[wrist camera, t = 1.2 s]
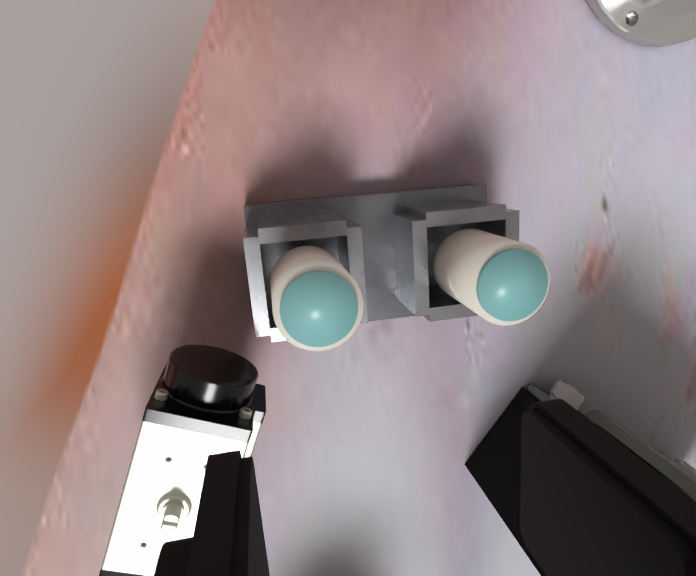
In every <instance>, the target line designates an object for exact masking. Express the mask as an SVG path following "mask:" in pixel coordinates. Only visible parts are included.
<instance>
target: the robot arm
mask: <svg viewBox="0 0 696 576" xmlns="http://www.w3.org/2000/svg"><path fill="white" fill-rule="evenodd" d="M587 2H588V5H589V6H590V7H591V9H592V10H593V12H594V13H595V15H596V16H597V18H598V19H599V20H600V21H601V22H602V23H603V24H604V25H605V26H606V27H607V28H608V29H609V30H610V31H611V32H612V33H614V34H616V35H617V36H619V37H621V38H622V39H624V40H626V41H628V42H631V43H634V44H637V45H641V46H650V47H662V46H668V45H674V44H677V43H681V42H684V41H687V40H690V39H693V38H695V37H696V0H587ZM520 530H521V535H522V538H523V541H524V543H525V545H526V547H527V548H528V550H529V551H530V553H531V554H532V555H533V557H534V558H535V560H536V561H537V563H538V564H539V565H540V567H541V568H542V570H543V571H544V573H545V574H546V575H547V576H696V501H694V500H693V499H692V498H690V497H689V496H688V495H687V494H685V493H684V492H683V491H681V490H680V489H679V488H677V487H676V486H675V485H674V484H672V483H671V482H670V481H668V480H667V479H666V478H664V477H663V476H662V475H661V474H659V473H658V472H657V471H655V470H654V469H653V468H651V467H650V466H649V465H648V464H646V463H645V462H644V461H642V460H641V459H640V458H638V457H637V456H636V455H635V454H633V453H632V452H631V451H629V450H628V449H627V448H626V447H624V446H623V445H622V444H620V443H619V442H618V441H616V440H615V439H614V438H613V437H611V436H610V435H609V434H607V433H606V432H605V431H603V430H602V429H601V428H600V427H598V426H597V425H596V424H594V423H593V422H592V421H590V420H589V419H588V418H587V417H585V416H584V415H583V414H581V413H580V412H579V411H577V410H576V409H575V408H574V407H572V406H571V405H570V404H568V403H567V402H566V401H564V400H562V399H553V400H547V401H541V402H535V403H532V404H531V405H530V407H529V410H528V411H526V412H524V413H523V415H522V426H521V492H520ZM154 576H270V575H269V568H268V561H267V554H266V547H265V540H264V533H263V526H262V519H261V512H260V505H259V498H258V491H257V484H256V477H255V470H254V463H253V458H252V456H251V457H245V458H242V457H241V453H240V450H237V451H231V452H225V453H219V454H212V455H209V456H208V459H207V464H206V469H205V475H204V480H203V486H202V491H201V497H200V502H199V508H198V513H197V519H196V524H195V530H194V535H193V537H191V538H185V539H180V540H174V541H169V542H165V543H164V544H163V545H162V548H161V551H160V554H159V558H158V561H157V565H156V569H155V573H154Z"/></svg>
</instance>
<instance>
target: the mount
mask: <svg viewBox="0 0 696 576" xmlns="http://www.w3.org/2000/svg"><path fill="white" fill-rule="evenodd" d="M244 210H245V218H246V226H247V229H245V231H244V235H243V244H244V251H245V259H246V266H247V274H248V282H249V289H250V297H251V305H252V312H253V320H254V328H255V335H256V337H262V336H270V335H271V342H278V341H285V340H286V339H285V338H284V337H283V336H282V335H281V333H280V332H279V330H278V328H277V326H276V324H275V321H274V317H273V310H272V298H271V287H270V279H271V273H272V270H273V268H274V266H275V264H276V262H277V261H278V259H279V258H280V257H281V256H282V255H283V254H285V253H286V252H287V251H289V250H291V249H293V248H296V247H299V246H304V245H312V246H318V247H321V248H324V249H326V250H327V251H329V252H330V253H332V254H333V255H334V256H335V257H336V258H337V259H338V261H339V262H340V263H341V264H342V265H343V267H344V268H345V269H346V270H347V271H348V273H349V274H350V275H351V276H352V277H353V279H354V280H355V281H356V283H357V284H358V286H359V288H360V290H361V293H362V297H363V315H362V318H361V321H360V324H363V323H368V321H376V320H384V319H392V318H399V317H407V316H416V317H417V316H424V317H426V318H427V319H428V320H429V321H438V320H445V319H453V318H461V317H468V316H476V315H478V314H476V313H475V312H473V311H472V310H470V309H469V308H468V307H466V306H465V305H463V304H462V303H460V302H459V301H457V300H456V299H454V298H453V297H451V296H450V295H448V294H447V293H446V292H444V291H443V290H442V289H441V288H440V286H439V285H438V283H437V281H436V279H435V276H434V270H433V263H434V258H435V254H436V252H437V250H438V248H439V246H440V245H441V243H442V242H443V241H444V240H445V239H446V238H447V237H448V236H449V235H451V234H453V233H454V232H457V231H459V230H462V229H478V230H481V231H485V232H488V233H492V234H495V235H499V236H502V237H506V238H509V239H512V240H516V241H519V211H518V210H512V209H506V205H504V204H497V203H491V202H486V185H484V184H469V185H457V186H446V187H435V188H424V189H413V190H402V191H390V192H379V193H368V194H357V195H346V196H334V197H323V198H312V199H301V200H290V201H278V202H267V203H256V204H245V205H244Z"/></svg>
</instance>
